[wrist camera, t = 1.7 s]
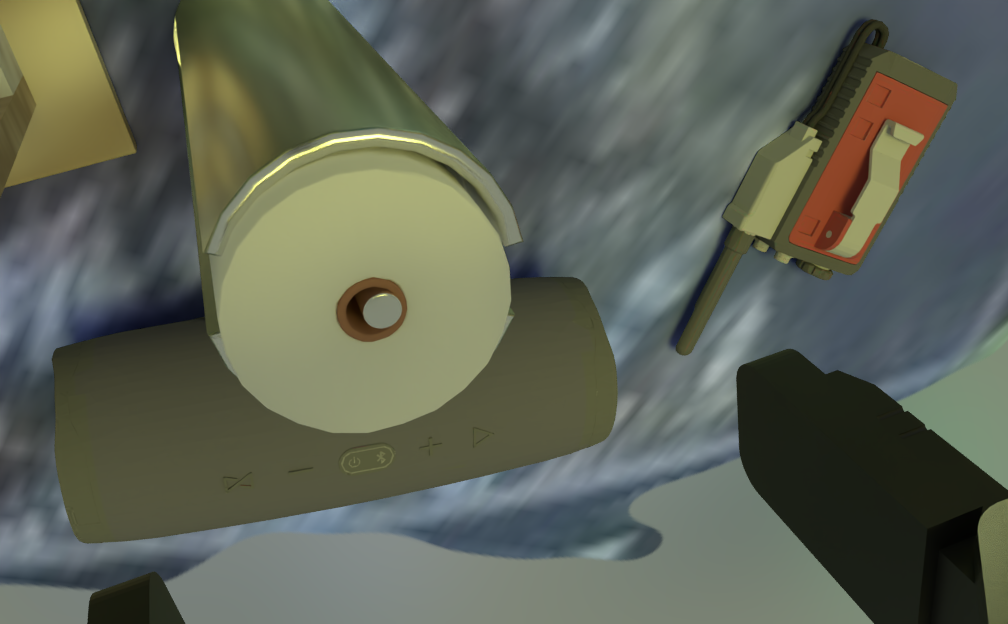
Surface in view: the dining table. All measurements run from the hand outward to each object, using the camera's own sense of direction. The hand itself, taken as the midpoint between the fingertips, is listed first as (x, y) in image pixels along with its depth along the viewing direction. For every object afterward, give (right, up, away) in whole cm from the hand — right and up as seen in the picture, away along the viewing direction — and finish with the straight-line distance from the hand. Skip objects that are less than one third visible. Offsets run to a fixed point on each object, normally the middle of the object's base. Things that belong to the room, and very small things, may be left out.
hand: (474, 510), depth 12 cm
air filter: (-10, +14, +26) cm, 31 cm away
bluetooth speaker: (-8, +1, +34) cm, 35 cm away
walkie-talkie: (+17, +9, +39) cm, 44 cm away
